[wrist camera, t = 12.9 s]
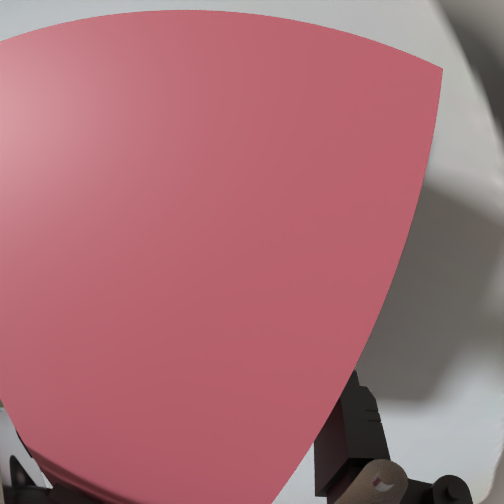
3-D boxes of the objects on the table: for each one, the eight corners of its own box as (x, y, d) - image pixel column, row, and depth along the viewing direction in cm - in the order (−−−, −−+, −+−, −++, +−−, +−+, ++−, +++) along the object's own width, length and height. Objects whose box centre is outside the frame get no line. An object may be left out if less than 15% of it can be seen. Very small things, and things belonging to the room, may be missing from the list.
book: (307, 137, 13) (442, 68, 1) (242, 396, 18) (204, 578, 6) (217, 120, 13) (-34, 55, 1) (180, 380, 18) (108, 549, 6)
